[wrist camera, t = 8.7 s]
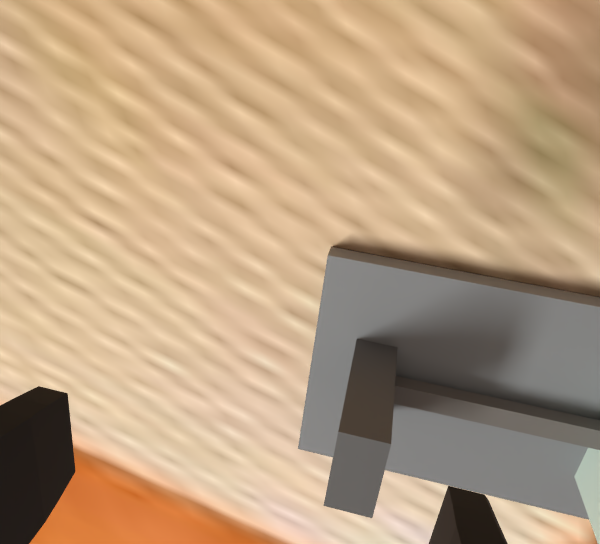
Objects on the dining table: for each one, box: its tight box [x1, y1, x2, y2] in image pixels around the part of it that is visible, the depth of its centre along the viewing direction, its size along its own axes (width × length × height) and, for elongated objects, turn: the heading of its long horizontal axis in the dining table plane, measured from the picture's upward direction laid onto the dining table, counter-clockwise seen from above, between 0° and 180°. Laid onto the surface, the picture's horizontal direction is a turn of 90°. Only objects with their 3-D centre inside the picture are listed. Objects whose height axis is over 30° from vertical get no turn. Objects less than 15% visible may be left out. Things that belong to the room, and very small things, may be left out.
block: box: [324, 339, 600, 544], centre depth 17 cm, size 5×14×5 cm, turn 83°
